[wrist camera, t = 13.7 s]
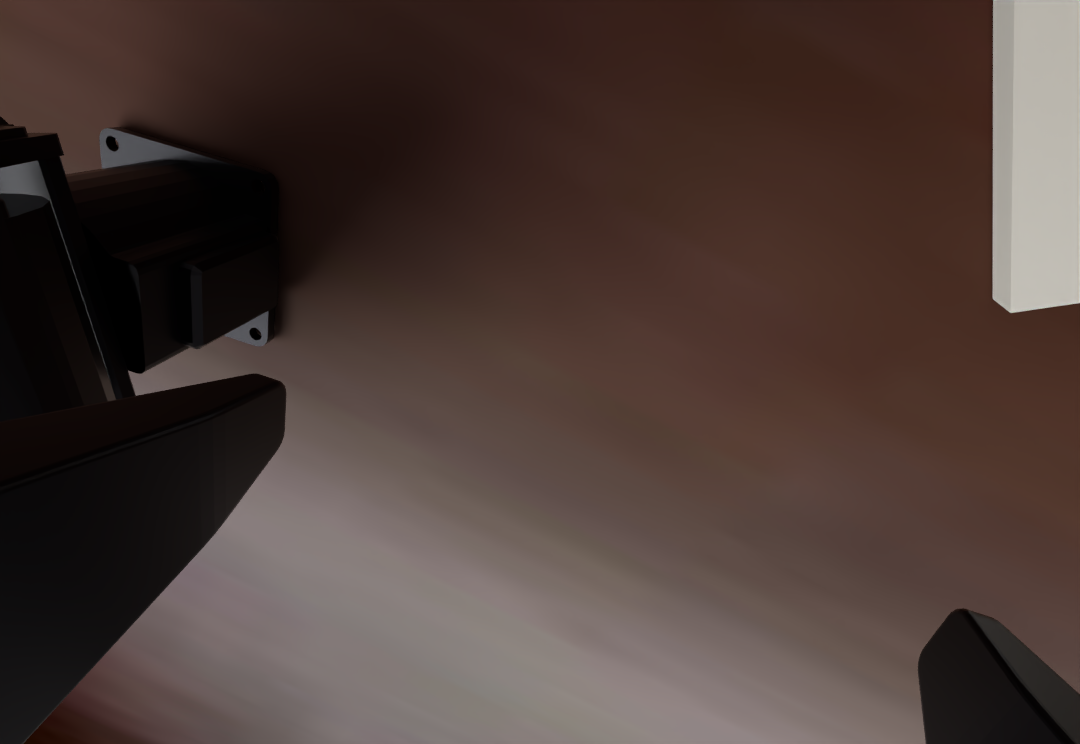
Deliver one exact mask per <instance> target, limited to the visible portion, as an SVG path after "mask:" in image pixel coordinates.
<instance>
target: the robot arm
mask: <svg viewBox="0 0 1080 744" xmlns="http://www.w3.org/2000/svg"><path fill="white" fill-rule="evenodd" d="M115 138H116V140H117V141H118V144H119V148H118V146H117V145H116V142H115ZM99 141H100V151H101V162H102V169H97V170H91V171H85V172H79V173H73V174H66V175H65V171H64V168H63V165H62V162H61V159H60V156H62V155H64V154H63V150H62V147H61V144H60V141H59V138H58V135H57V133H27V131H26V128H25V127H24V126H14V125H13V124H8V123H7V122H6V121H5V120H4V119H3V118H2V117H0V744H23V743H24V742H25V741H26V740H27V739H28V738H29V737H30V735H31V734H32V733H33V732H34V731H35V730H36V729H37V728H38V727H39V726H40V725H41V723H42V722H43V721H44V720H45V719H46V718H47V717H48V716H49V715H50V714H51V713H52V712H53V710H54V709H55V708H56V707H57V706H58V705H59V704H60V703H61V702H62V701H63V700H64V698H65V697H66V696H67V695H68V694H69V693H70V692H71V691H72V690H73V689H74V688H75V686H76V685H77V684H78V683H79V682H80V681H81V680H82V679H83V678H84V677H85V676H86V674H87V673H88V672H89V671H90V670H91V669H92V668H93V667H94V666H95V665H96V664H97V662H98V661H99V660H100V659H101V658H102V657H103V656H104V655H105V654H106V653H107V652H108V651H109V649H110V648H111V647H112V646H113V645H114V644H115V643H116V642H117V641H118V640H119V639H120V637H121V636H122V635H123V634H124V633H125V632H126V631H127V630H128V629H129V628H130V627H131V625H132V624H133V623H134V622H135V621H136V620H137V619H138V618H139V617H140V616H141V615H142V613H143V612H144V611H145V610H146V609H147V608H148V607H149V606H150V605H151V604H152V603H153V601H154V600H155V599H156V598H157V597H158V596H159V595H160V594H161V593H162V592H163V591H164V589H165V588H166V587H167V586H168V585H169V584H170V583H171V582H172V581H173V580H174V579H175V578H176V576H177V575H178V574H179V573H180V572H181V571H182V570H183V569H184V568H185V567H186V566H187V564H188V563H189V562H190V561H191V560H192V559H193V558H194V557H195V556H196V555H197V554H198V552H199V551H200V550H201V549H202V548H203V547H204V546H205V545H206V544H207V542H208V541H209V540H210V539H211V538H212V537H213V536H214V534H215V533H216V532H217V531H218V529H219V528H220V527H221V526H222V524H223V523H224V522H225V520H226V519H227V518H228V516H229V515H230V514H231V512H232V511H233V510H234V508H235V507H236V506H237V504H238V503H239V502H240V500H241V499H242V497H243V496H244V495H245V493H246V492H247V491H248V489H249V488H250V487H251V485H252V484H253V483H254V481H255V480H256V478H257V477H258V476H259V474H260V473H261V472H262V470H263V469H264V468H265V466H266V465H267V464H268V462H269V461H270V460H271V458H272V457H273V455H274V454H275V453H276V451H277V450H278V448H279V447H280V445H281V443H282V440H283V437H284V431H285V412H286V388H285V386H284V384H283V383H282V382H280V381H278V380H275V379H272V378H269V377H266V376H263V375H260V374H248V375H243V376H238V377H233V378H227V379H222V380H217V381H212V382H207V383H201V384H196V385H191V386H186V387H180V388H175V389H170V390H165V391H159V392H154V393H149V394H144V395H138V396H136V395H135V392H134V388H133V385H132V382H131V379H130V376H129V373H128V370H129V371H132V372H135V373H140V374H142V373H143V372H145V371H147V370H149V369H151V368H153V367H155V366H156V365H158V364H160V363H162V362H164V361H166V360H168V359H170V358H171V357H173V356H175V355H177V354H179V353H181V352H183V351H184V350H186V349H188V348H190V347H191V348H194V349H200V348H202V347H204V346H205V345H207V344H209V343H211V342H213V341H214V340H216V339H218V338H220V337H222V336H227V337H230V338H233V339H236V340H239V341H242V342H245V343H248V344H251V345H254V346H263V345H265V344H266V343H268V342H270V341H271V340H272V339H273V336H274V318H275V306H276V305H277V298H278V269H279V241H278V238H277V227H278V196H279V188H278V183H277V180H276V178H275V177H274V176H273V175H272V174H271V173H270V172H268V171H266V170H263V169H259V168H256V167H252V166H249V165H246V164H242V163H239V162H235V161H232V160H229V159H225V158H222V157H218V156H215V155H212V154H208V153H205V152H202V151H198V150H195V149H191V148H188V147H185V146H181V145H178V144H174V143H171V142H168V141H164V140H161V139H157V138H154V137H151V136H147V135H144V134H140V133H137V132H134V131H130V130H127V129H123V128H118V127H114V128H106V129H104V130H102V132H101V133H100V139H99ZM259 180H260V181H262V183H263V184H264V186H265V191H264V192H263V191H261V189H260V188H259V184H258V183H259ZM256 328H257V329H258V330H259V331H260V332H261V335H262V336H260V335H259V334H258V333H257V331H256ZM918 676H919V685H920V695H921V704H922V713H923V722H924V731H925V741H926V744H1080V694H1079V693H1077V692H1076V691H1075V690H1074V689H1073V688H1072V687H1071V686H1070V685H1069V684H1067V683H1066V682H1065V681H1064V680H1063V679H1062V678H1061V677H1060V676H1059V675H1058V674H1056V673H1055V672H1054V671H1053V670H1052V669H1051V668H1050V667H1049V666H1048V665H1046V664H1045V663H1044V662H1043V661H1042V660H1041V659H1040V658H1039V657H1038V656H1037V655H1035V654H1034V653H1033V652H1032V651H1031V650H1030V649H1029V648H1028V647H1027V646H1025V645H1024V644H1023V643H1022V642H1021V641H1020V640H1019V639H1018V638H1017V637H1016V636H1014V635H1013V634H1012V633H1011V632H1010V631H1009V630H1008V629H1007V628H1006V627H1004V626H1003V625H1002V624H1001V623H1000V622H999V621H997V620H995V619H994V618H992V617H988V616H985V615H982V614H979V613H976V612H973V611H970V610H967V609H956V610H954V611H953V612H951V613H950V614H949V615H948V617H947V618H946V619H945V621H944V622H943V623H942V625H941V626H940V627H939V628H938V630H937V631H936V632H935V634H934V635H933V636H932V638H931V639H930V640H929V642H928V643H927V644H926V646H925V647H924V648H923V650H922V652H921V654H920V657H919V661H918Z"/></svg>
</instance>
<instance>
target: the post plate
mask: <svg viewBox="0 0 1080 744" xmlns="http://www.w3.org/2000/svg"><path fill="white" fill-rule="evenodd" d="M993 300H995V301H996V302H997V303H999V304H1000V305H1001V306H1002V307H1004V308H1005V309H1006V310H1007V311H1009V312H1010V313H1014V312H1021V311H1028V310H1035V309H1041V308H1048V307H1055V306H1062V305H1069V304H1076V303H1080V0H993Z"/></svg>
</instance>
